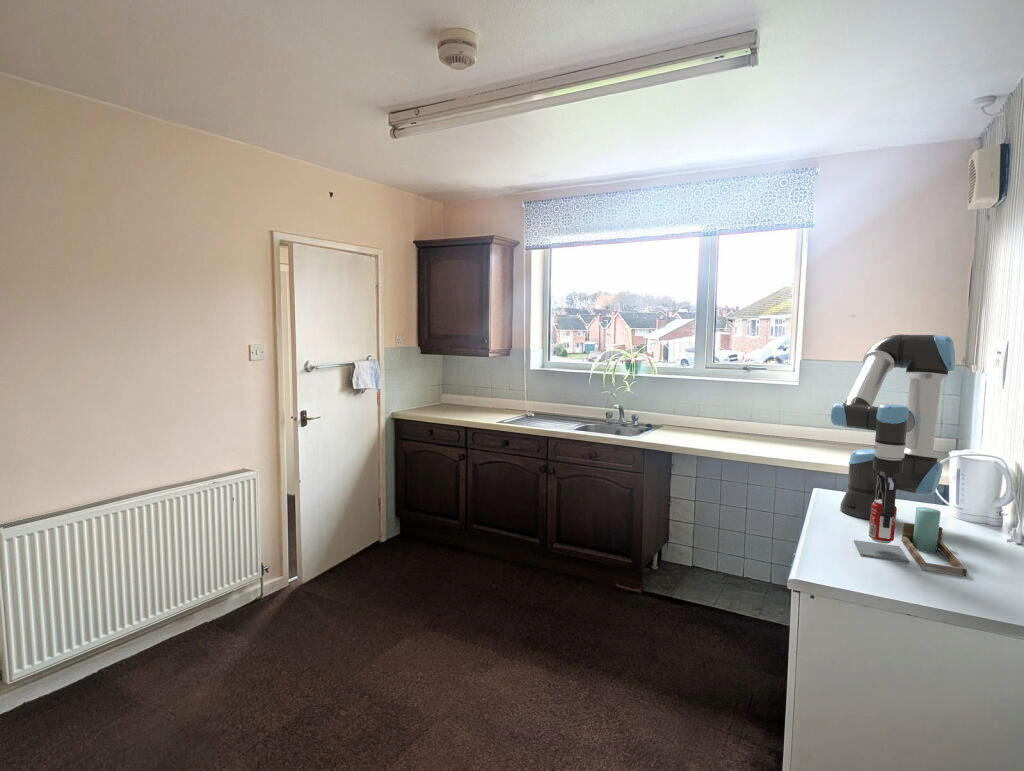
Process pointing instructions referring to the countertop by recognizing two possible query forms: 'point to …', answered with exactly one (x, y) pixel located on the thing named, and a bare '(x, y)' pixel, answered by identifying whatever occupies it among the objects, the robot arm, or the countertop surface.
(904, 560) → the coaster
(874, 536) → the beverage can
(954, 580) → the countertop surface
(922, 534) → the can
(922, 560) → the dispenser rack
